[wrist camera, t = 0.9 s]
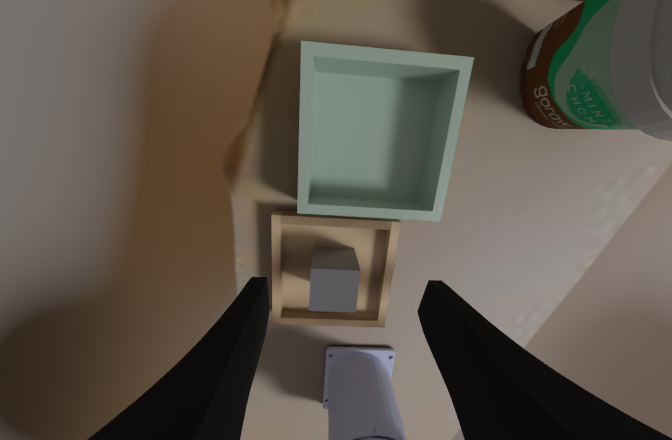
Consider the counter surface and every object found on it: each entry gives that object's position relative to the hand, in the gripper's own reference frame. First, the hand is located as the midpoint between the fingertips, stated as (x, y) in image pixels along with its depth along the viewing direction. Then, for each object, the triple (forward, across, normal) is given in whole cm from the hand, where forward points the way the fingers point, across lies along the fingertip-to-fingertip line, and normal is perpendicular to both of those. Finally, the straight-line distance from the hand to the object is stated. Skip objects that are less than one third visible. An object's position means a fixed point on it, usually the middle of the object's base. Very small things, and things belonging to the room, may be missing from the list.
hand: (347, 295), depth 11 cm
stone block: (+11, 0, +8) cm, 13 cm away
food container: (+15, -18, -9) cm, 25 cm away
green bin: (+14, -3, -4) cm, 15 cm away
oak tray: (+12, 0, +8) cm, 14 cm away
